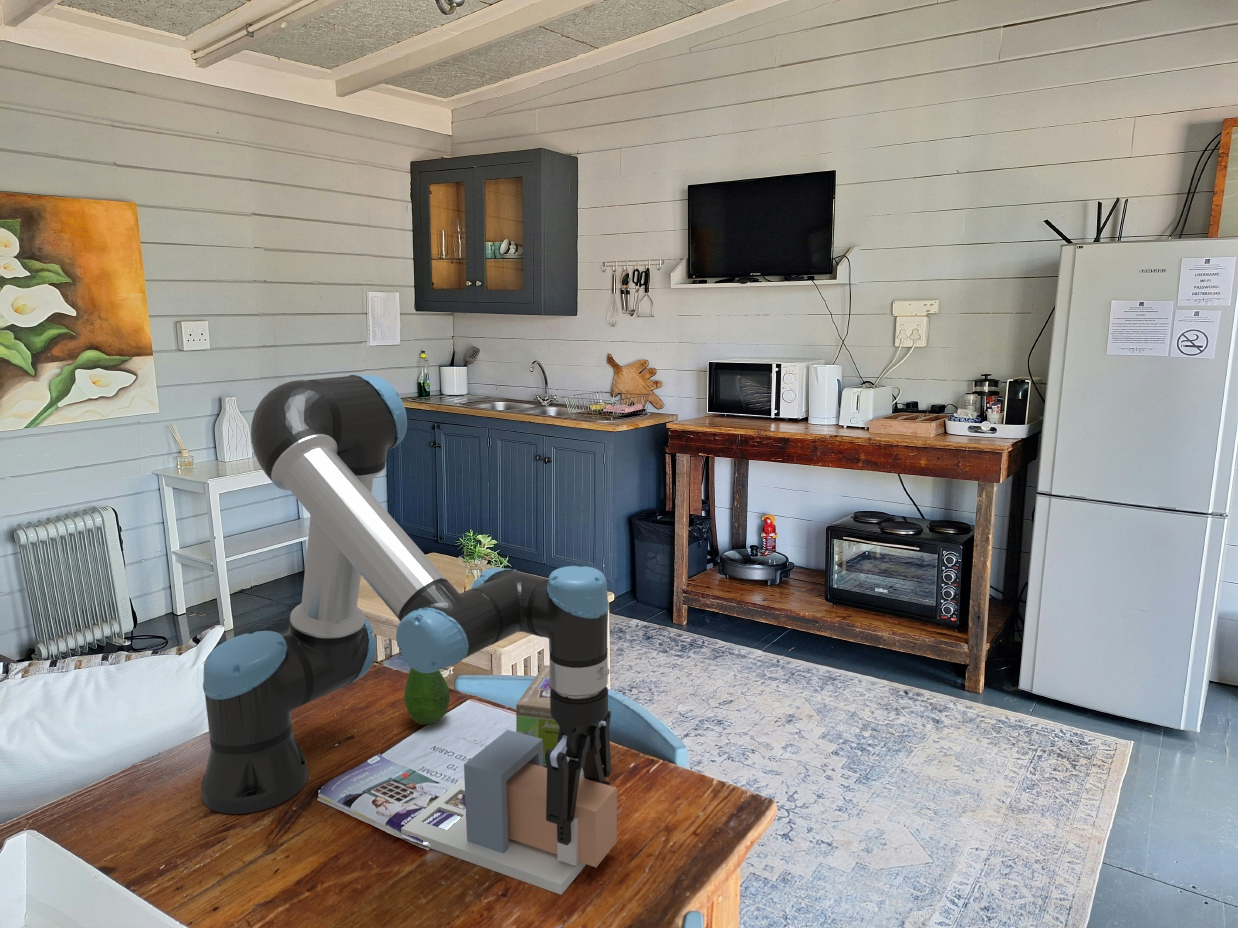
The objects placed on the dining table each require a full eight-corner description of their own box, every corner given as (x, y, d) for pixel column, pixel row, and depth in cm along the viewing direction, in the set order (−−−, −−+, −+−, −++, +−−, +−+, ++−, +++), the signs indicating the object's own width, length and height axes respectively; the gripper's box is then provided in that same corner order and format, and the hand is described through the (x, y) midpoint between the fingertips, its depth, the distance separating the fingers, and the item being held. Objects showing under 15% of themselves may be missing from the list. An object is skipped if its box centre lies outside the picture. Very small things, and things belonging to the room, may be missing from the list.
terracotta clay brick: (481, 829, 116) (479, 776, 115) (506, 806, 122) (504, 755, 120) (596, 867, 108) (595, 811, 107) (617, 841, 114) (616, 787, 112)
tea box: (578, 800, 127) (577, 709, 124) (515, 793, 129) (512, 703, 126) (600, 749, 141) (599, 667, 139) (543, 743, 143) (541, 662, 141)
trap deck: (401, 837, 118) (396, 753, 116) (462, 787, 130) (459, 709, 128) (561, 894, 107) (559, 801, 104) (611, 833, 119) (611, 749, 116)
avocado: (396, 724, 150) (393, 661, 147) (430, 707, 156) (427, 647, 154) (427, 738, 145) (424, 673, 143) (460, 720, 151) (458, 657, 149)
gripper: (567, 725, 98) (569, 899, 103) (636, 664, 115) (636, 815, 120) (513, 711, 102) (517, 880, 106) (588, 653, 118) (589, 802, 123)
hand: (580, 846), depth 113 cm, fingers closed on terracotta clay brick, 6 cm apart
